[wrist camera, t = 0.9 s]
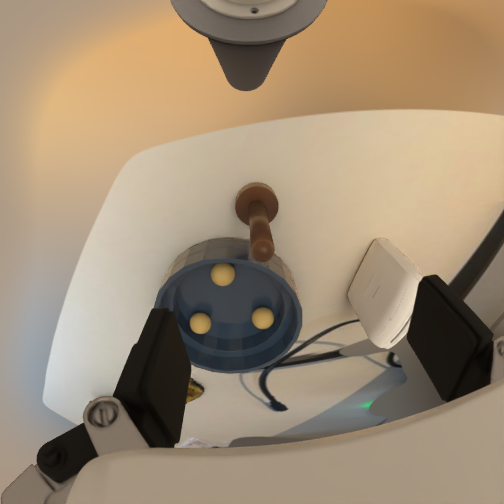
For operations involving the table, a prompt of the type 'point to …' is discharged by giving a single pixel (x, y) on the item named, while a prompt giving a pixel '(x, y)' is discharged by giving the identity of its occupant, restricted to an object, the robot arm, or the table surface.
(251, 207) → the wooden dough tamper
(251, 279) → the bowl
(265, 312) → the dough ball
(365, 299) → the photo printer
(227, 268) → the dough ball
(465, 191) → the table surface
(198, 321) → the dough ball
